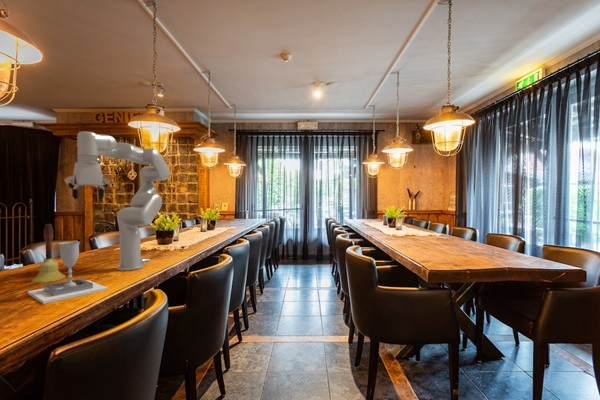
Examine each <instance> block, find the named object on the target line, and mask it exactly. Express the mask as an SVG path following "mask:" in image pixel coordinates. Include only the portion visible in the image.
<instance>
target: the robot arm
mask: <svg viewBox="0 0 600 400" xmlns="http://www.w3.org/2000/svg"><path fill="white" fill-rule="evenodd" d="M76 139H77V142H76V143H77V162H75V163H74V168H73V175H71V176H69V177H67V178H65V179H64V182H65V183H66V185H67V186H68V187H69V188H70V190H71V193H72V194H71V195H72V198H73V199H74V200H76V199H77V200H78V199H79V189H78V188H79V187H80V186H88V187H89V186H91V187H97V188H98V195H97V196H98V197H97V198H98V199H102V200H103V199H104V197H105V191H104V190H105V189H106V188H108V186H109V185H110V183H111V180H110V179H107V178H106V177H104V176H103V173H102V167H101V165H100V164H101V163H100V162H102V160H103V159H102V158H101V157H100V158H99V156H102V157H108V158H114V159H119V160H125V161H128V162H132V163H134V164H138V165H148V166H144V167H142V168H141V169H140V170H139V178H140V183H141V184H140V187H139V189H138V190H137V192H136V193H135V194H134V196H133V197H132V198H131V200H130V207H129V206H128V207H123V208H121V209H120V210H118V212H117V214H116V219H117V224H118V231H119V265H118V266H116V267H115V269H116V270H117V271H134V270H140V269H142V268H144V267H145V263H150V261H151V258H150V257H149V258H142V256H141V251H142V250H141V247H142V246H141V231H140V229H139V227H145V226H146V227H147V226H149V225H151V223H152V222H153V221H154V219H155V218H156V216H157V215H158V214H159V211H160V210H161V208H162V205H163V199H162V196H161V195H160V194H158V193H157V187H156V186H155V183H154V182H157V181H158V182H161V181H162V182H163V181H166V180H168V179H169V178H170V174H171V171H170V169H169V166H168V165H167V162H166V160H165V159H164V157H163V156H162V154H161V153H160V152H159V150H158V149H156V148H155V147H154V148H141V147H138V146H136V145H133V144H130V143H127V142H120V141H119V142H117V139H115V138H114V137H113V136H112V135H109V134H99V133H96V132H93V131H83V130H82V131H79V132H78V133H77V137H76ZM72 180H73V181H72ZM71 181H72V182H73V183H72V182H71ZM103 182H104V183H103Z"/></svg>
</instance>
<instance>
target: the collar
mask: <svg viewBox="0 0 600 400" xmlns="http://www.w3.org/2000/svg"><path fill="white" fill-rule="evenodd" d="M71 280H72V281H73V282H75V283H76V285H77V286H72V287H66V288H63V287H64V285H65V284H66V283H68V280H66V281H61V282H60V281H59V282H54V283H49V284H44V285H43V287H42V289H43V291H45V292H47V293H49V294H50V295H52V296H58V295H62V294H67V293H72V292H77V291H82V290H87V289H92V288H93V283H91V282H89V281H90V280H89V281H86V279H83V278H77V279H71ZM58 288H61V289H58Z"/></svg>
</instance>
